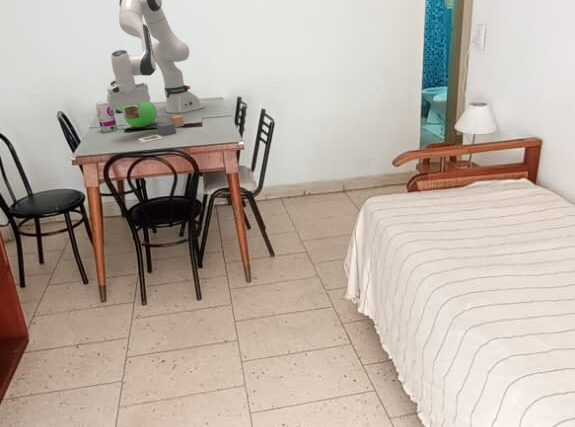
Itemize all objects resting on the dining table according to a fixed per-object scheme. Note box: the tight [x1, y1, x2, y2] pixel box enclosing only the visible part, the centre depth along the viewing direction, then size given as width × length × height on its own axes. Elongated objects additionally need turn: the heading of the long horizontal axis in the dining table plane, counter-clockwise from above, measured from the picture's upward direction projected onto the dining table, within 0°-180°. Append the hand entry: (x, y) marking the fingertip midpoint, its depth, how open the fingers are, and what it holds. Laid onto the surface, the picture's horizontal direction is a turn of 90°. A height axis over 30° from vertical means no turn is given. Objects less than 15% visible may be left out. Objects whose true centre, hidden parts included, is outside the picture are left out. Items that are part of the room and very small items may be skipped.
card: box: [137, 134, 163, 143], centre depth 254 cm, size 10×8×1 cm
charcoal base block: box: [156, 120, 177, 137], centre depth 261 cm, size 7×7×5 cm
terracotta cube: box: [169, 114, 185, 128], centre depth 274 cm, size 5×5×5 cm
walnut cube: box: [124, 106, 139, 120], centre depth 256 cm, size 5×5×5 cm
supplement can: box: [95, 100, 118, 133], centre depth 274 cm, size 8×8×15 cm
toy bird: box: [115, 101, 158, 128], centre depth 276 cm, size 18×17×15 cm
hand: (132, 114), depth 257 cm, fingers closed on walnut cube, 5 cm apart
